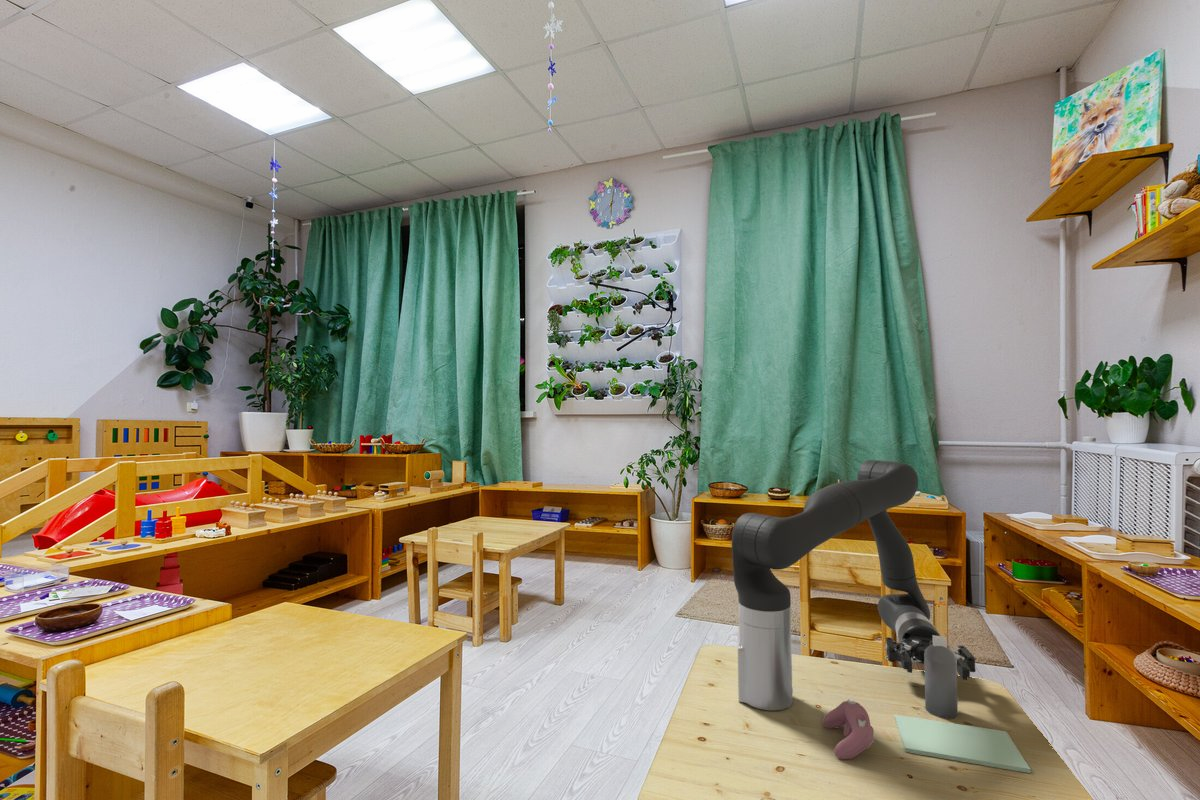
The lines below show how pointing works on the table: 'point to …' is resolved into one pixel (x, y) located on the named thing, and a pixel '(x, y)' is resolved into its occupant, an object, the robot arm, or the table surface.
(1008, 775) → the table surface
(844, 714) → the mauve curved piece
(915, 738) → the mat
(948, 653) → the grey bottle
